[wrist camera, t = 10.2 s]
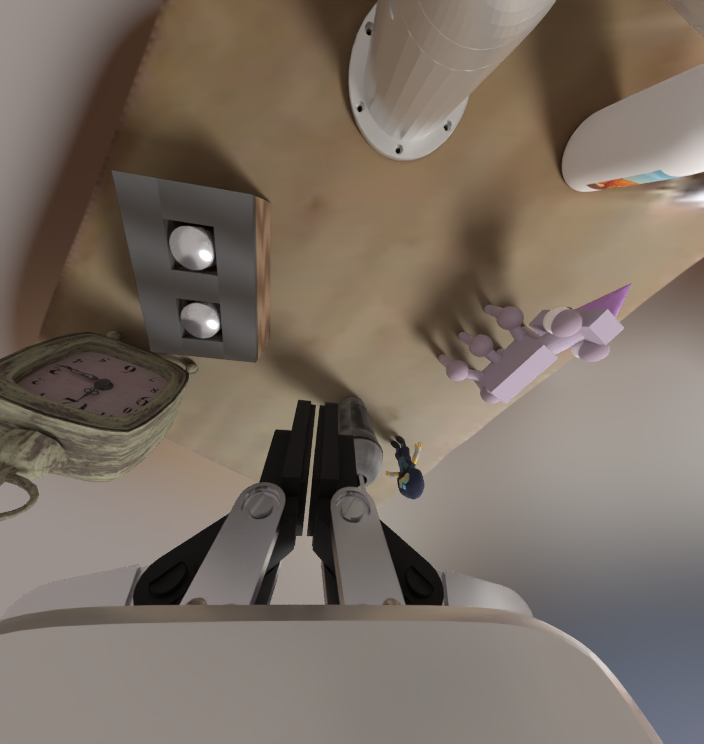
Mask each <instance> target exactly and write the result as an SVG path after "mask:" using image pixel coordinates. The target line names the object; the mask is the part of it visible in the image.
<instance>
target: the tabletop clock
mask: <svg viewBox="0 0 704 744" xmlns="http://www.w3.org/2000/svg"><path fill="white" fill-rule="evenodd" d="M120 340H121V334H120V333H118V332H117V331H110V332H108V333H107V334H106V336H104V335H100V334H95V333H91V332H84V333H75V334H70V335H65V336H61V337H57V338H54V339H51V340H48V341H44V342H41V343H38V344H35V345H32V346H29V347H26V348H24V349H22V350H20V351H17V352H15V353H13V354H11V355H8V356H6V357H4V358H2V359H0V485H2V484H3V483H4V482H8V483H12V484H15V485H17V486H19V487H21V488H23V489H24V490H26V491H27V492H28V494H29V495H30V500H29V501H28V502H27V504H25V505H24V506H22V507H20V508H18V509H15V510H12V511H9V512H4V513H0V521H2V520H6V519H9V518H13V517H15V516H17V515H19V514H21V513H23V512H25V511H27V510H28V509H30V508H31V507H32V506H33V505H34V504H35V503H36V501H37V499H38V496H39V493H38V489H37V486H36V485H35V484H33V483H32V482H31V481H29V480H28V479H36V478H39V477H43V476H45V475H47V474H50V473H53V474H57V475H62V476H67V477H71V478H75V479H80V480H84V481H90V482H110V481H112V480H114V479H116V478H118V477H120V476H122V475H123V474H125V473H127V472H128V471H130V470H131V469H132V468H134V467H135V466H136V465H138V464H139V463H140V462H141V461H142V460H143V459H144V458H145V457H146V456H147V455H148V454H149V453H150V452H151V451H152V450H153V449H154V448H155V447H156V446H157V445H158V444H159V443H160V442H161V440H162V439H163V437H164V436H165V434H166V433H167V432H168V430H169V429H170V427H171V425H172V423H173V421H174V419H175V416H176V413H177V411H178V408H179V405H180V402H181V399H182V396H183V394H184V391H185V388H186V385H187V382H188V379H189V374H195V373H196V372H197V371H198V367H197V365H195V364H189V365H187V366H186V370H184V369H183V368H182V367H180V366H178V365H177V364H175V363H173V362H170V361H168V360H166V359H164V358H162V357H160V356H157V355H155V354H153V353H151V352H149V351H147V350H144V349H141V348H139V347H136V346H133V345H130V344H128V343H125V342H122V341H120Z"/></svg>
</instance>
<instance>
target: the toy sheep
mask: <svg viewBox="0 0 704 744" xmlns="http://www.w3.org/2000/svg"><path fill="white" fill-rule="evenodd" d="M631 284H632V283H631ZM631 284H629V285H626V286H624V287H622V288H620V289H618V290H616V291H614V292H612V293H609V294H607V295H605V296H603V297H601V298H599V299H597V300H594V301H592V302H590V303H588V304H586V305H584V306H582V307H579V308H577V309H575V310H572V308H570V307H557V308H554V309H552V310H542V311H541V312H540V313H539V314H538V315H537V316H536V317H535V318H534V320H533V321H532V322H531V323H530V324H529V325H530V326H531V327H532V328H533V329H534V330H535V331H536V332H537V333H538V334H539V335H540V336H539V335H538V334H536V333H535V332H533V331H532V330H531V329H529V328H528V327H526V326H523V327H521V323H522V321H523V318H524V315H523V312H522V311H521V310H520V309H519V308H517V307H514V306H508V307H505V308H500V307H499V306H498V307H497V306H493V305H487V306H486V307H485V308H484V312H485V313H486V314H489V315H492V316H495V317H497V323H498V325H499V326H500V327H501V328H503V329H506V330H509V331H510V332H511V334H512V336H513V338H514V341H513V342H512V343H511V344H510V345H509V346H508V347H507V348H506V349H505V350H504V349H502V348H501V349H498V350H497V351H494V350H493V341H492V339H491V338H490V337H488V336H486V335H476V336H475V337H473V336H471V335H469V334H468V333H466V332H461V333H459V335H458V338H459V339H460V340H461V341H463V342H464V343H466V344H467V345H469V350H470V352H471V353H472V354H473V355H475V356H478V357H483V356H485V357H486V358H487V359H488V360H490V361H491V363H490V364H489V365H488V366H487V367H486V368H485V369H484V370H483V371H478V370H473V369H469V368H468V365H467V364H466V363H465V362H464V361H461V360H454V361H452V360H451V359H450V358H448V357H447V356H446V355H445V354H441V355H440V356H439V358H438V360H439V361H440V362H441V363H442V364H443V365H444V366H445V367H446V373H447V376H448V377H449V378H450V379H452V380H454V381H461V380H464V379H465V378H469V379H473V380H474V382H475V383H476V384H477V386H478V387H479V388H480V390H481V391H480V395H481V397H482V399H483V400H484V401H485V402H487V403H497V402H499V401H500V400H501V401H502V402H504V403H505V404H506V403H507V402H508V401H509V400H511V399H512V398H513V397H514V396H515V395H516V394H518V393H519V392H520V391H521V390H522V389H523V388H524V387H526V386H527V385H528V384H529V383H530V382H531V381H533V380H534V379H535V378H536V377H537V376H538V375H539V374H541V373H542V372H543V371H544V370H545V369H546V368H548V367H549V366H550V365H551V364H552V363H553V362H555V361H556V360H557V359H558V358H557V357H556V356H555V354H557V353H559V352H561V351H563V350H565V349H567V348H569V347H570V349H571V352H572V353H573V355H575V356H576V357H578V358H580V359H582V360H584V361H590V362H594V361H599V360H601V359H603V358H604V357H606V356H607V355H608V353H609V351H610V344H609V342H610V341H611V340H612V339H613V338H614V337H615V336H616V335H617V334H619V333H620V332H621V331H622V330H623V329H624V327H623V326H622V325H621V324H620V323H619V321H618V320H617V319H616V316H617V314H618V312H619V310H620V308H621V305H622V303H623V301H624V299H625V297H626V295H627V293H628V291H629V289H630V287H631Z"/></svg>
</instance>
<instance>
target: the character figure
mask: <svg viewBox="0 0 704 744" xmlns="http://www.w3.org/2000/svg"><path fill="white" fill-rule="evenodd" d="M396 440H397V442H398V443H400V444H401V449H400V445H399V444H398V443H397V442H394V441H393V442H391V445H392V446H393V447H394V448H395V449H396V453H395V457H396V459H397V460H398V464H399V467H400V472H394V473H390V472H388V471H386V475H387V476H390V477H398V479H397V481H398V488H399V491H400V493H401V494H402V495H404V496H405V497H407V498H411V499H416V498H418V497H420V495H421V494H422V492H423V489H424V480H423V476H422V473H421V471H420V470H418V469H415V465H416V462H417V459H418V457H419V454H420V450H421V448H422V443H420V442H419V443H418V446H417V445H416V444H415V453H414V455H413V458H412V460H411V457H410V454H409V448H408V447H406V444H405V441H404V439H403V438H401V437H396Z"/></svg>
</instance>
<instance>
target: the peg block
mask: <svg viewBox="0 0 704 744" xmlns="http://www.w3.org/2000/svg"><path fill="white" fill-rule="evenodd" d="M112 175H113V180H114V184H115V189H116V194H117V198H118V203H119V207H120V212H121V217H122V221H123V226H124V230H125V235H126V240H127V244H128V249H129V253H130V258H131V263H132V267H133V272H134V277H135V281H136V286H137V290H138V295H139V300H140V304H141V309H142V313H143V318H144V323H145V327H146V332H147V336H148V341H149V346H150V350H151V352H158V353H167V354H177V355H187V356H196V357H206V358H216V359H226V360H235V361H245V362H255V363H256V361H257V360H258V358H259V356H260V355H261V353H262V351H263V350H264V348H265V346H266V345H267V343H268V341H269V340H270V202H268V201H266V200H264V199H261V198H259V197H257V196H254V195H252V194H246V193H240V192H235V191H229V190H223V189H217V188H212V187H206V186H200V185H194V184H189V183H183V182H177V181H171V180H165V179H160V178H154V177H148V176H142V175H137V174H131V173H125V172H119V171H114V170H112ZM201 225H206V226H213V227H214V237H215V249H216V262H217V265H215V266H212V267H208V268H205V269H201V270H191V269H188V268H186V267H184V266H183V265H181V264H180V263H179V262H178V261H177V260H176V259H175V257H174V256H173V254H172V252H171V249H170V244H169V241H170V236H171V234H172V232H173V231H174V230H175V229H176V228H178V227H181V226H201ZM195 301H203V302H211V303H219V304H220V311H221V323H222V328H221V329H220V330H219V331H218V332H217V333H216V334H215V335H213V336H212V337H209V338H198V337H195V336H193V335H192V334H190V333H189V332H188V331H187V330H186V329H185V328H184V326H183V325H182V322H181V312H182V310H183V309H184V308H185V307H186V306H187V305H189V304H191V303H193V302H195Z"/></svg>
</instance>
